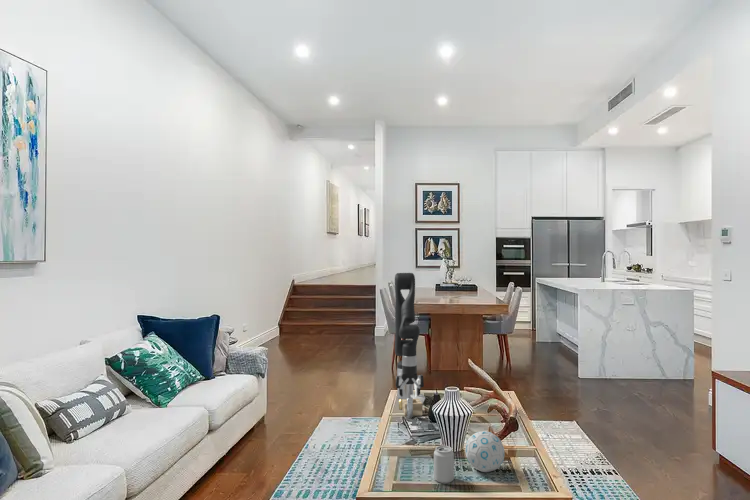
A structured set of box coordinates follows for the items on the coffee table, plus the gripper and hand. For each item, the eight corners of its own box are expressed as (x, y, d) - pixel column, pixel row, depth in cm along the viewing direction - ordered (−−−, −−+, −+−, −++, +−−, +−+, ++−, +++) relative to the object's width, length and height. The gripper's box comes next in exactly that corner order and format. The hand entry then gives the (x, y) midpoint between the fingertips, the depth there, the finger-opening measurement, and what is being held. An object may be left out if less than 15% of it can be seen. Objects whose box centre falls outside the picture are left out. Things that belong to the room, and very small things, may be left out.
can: (440, 473, 202) (440, 442, 202) (457, 479, 197) (457, 447, 197) (430, 480, 196) (429, 448, 196) (447, 486, 191) (447, 454, 191)
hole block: (402, 410, 277) (402, 399, 277) (419, 409, 278) (418, 398, 278) (405, 416, 269) (405, 404, 268) (422, 415, 270) (422, 403, 269)
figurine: (422, 400, 295) (421, 373, 295) (426, 405, 286) (425, 378, 286) (409, 400, 294) (409, 374, 294) (413, 405, 285) (412, 378, 285)
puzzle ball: (457, 469, 206) (457, 431, 205) (481, 458, 215) (481, 422, 215) (488, 482, 194) (488, 442, 194) (512, 471, 204) (512, 433, 203)
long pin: (406, 416, 268) (406, 397, 267) (412, 416, 268) (412, 397, 268) (407, 418, 265) (407, 399, 264) (413, 418, 265) (413, 398, 265)
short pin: (398, 408, 281) (398, 398, 281) (403, 407, 282) (403, 398, 282) (399, 409, 278) (399, 400, 278) (404, 409, 279) (404, 400, 279)
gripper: (421, 362, 270) (422, 393, 270) (394, 362, 269) (394, 394, 269) (424, 365, 263) (424, 397, 263) (396, 366, 261) (397, 398, 261)
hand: (409, 395), depth 266 cm, fingers open, 8 cm apart
